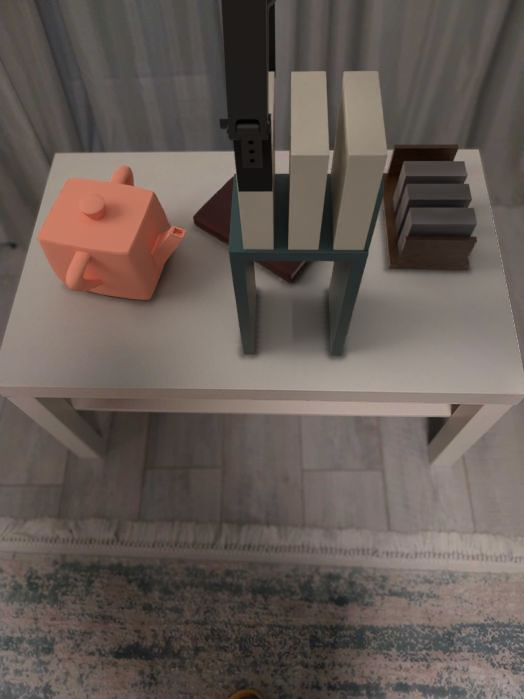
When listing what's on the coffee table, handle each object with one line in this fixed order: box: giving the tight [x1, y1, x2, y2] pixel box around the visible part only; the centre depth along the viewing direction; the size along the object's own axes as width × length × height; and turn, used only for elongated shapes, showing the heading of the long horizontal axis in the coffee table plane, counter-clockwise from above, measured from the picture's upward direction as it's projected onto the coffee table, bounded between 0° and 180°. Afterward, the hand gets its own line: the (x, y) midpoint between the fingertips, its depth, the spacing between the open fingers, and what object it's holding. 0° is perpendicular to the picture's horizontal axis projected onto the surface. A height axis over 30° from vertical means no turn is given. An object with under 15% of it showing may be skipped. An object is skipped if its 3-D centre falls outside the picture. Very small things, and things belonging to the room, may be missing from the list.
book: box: [192, 175, 310, 283], centre depth 79 cm, size 12×19×3 cm, turn 53°
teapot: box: [36, 165, 187, 301], centre depth 72 cm, size 20×22×14 cm
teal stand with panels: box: [227, 70, 389, 356], centre depth 57 cm, size 14×11×36 cm
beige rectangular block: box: [233, 72, 276, 250], centre depth 46 cm, size 3×10×12 cm, turn 178°
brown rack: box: [381, 143, 478, 270], centre depth 77 cm, size 19×12×9 cm, turn 178°
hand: (258, 128), depth 42 cm, fingers open, 13 cm apart
